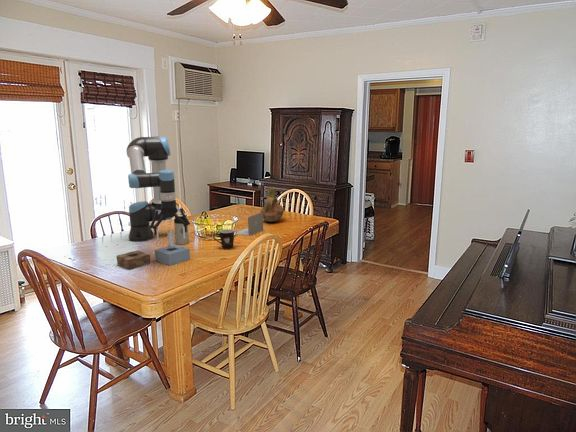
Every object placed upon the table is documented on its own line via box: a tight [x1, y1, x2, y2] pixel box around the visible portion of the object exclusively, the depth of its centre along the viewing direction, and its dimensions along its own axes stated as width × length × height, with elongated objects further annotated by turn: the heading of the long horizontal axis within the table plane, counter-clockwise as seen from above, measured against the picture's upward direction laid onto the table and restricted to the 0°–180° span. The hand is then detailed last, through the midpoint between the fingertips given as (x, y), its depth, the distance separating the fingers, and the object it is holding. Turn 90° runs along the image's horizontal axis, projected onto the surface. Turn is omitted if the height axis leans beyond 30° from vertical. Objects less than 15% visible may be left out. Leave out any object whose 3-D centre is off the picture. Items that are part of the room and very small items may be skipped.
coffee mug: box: [212, 228, 235, 250], centre depth 243 cm, size 12×9×10 cm
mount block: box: [116, 250, 151, 271], centre depth 216 cm, size 12×12×5 cm
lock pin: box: [167, 229, 176, 251], centre depth 221 cm, size 3×3×15 cm
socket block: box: [154, 243, 191, 266], centre depth 222 cm, size 13×13×6 cm
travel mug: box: [173, 212, 190, 246], centre depth 252 cm, size 8×8×18 cm
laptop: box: [235, 211, 264, 237], centre depth 278 cm, size 18×12×13 cm
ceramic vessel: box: [259, 187, 285, 223], centre depth 306 cm, size 17×26×25 cm, turn 172°
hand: (171, 239), depth 220 cm, fingers open, 13 cm apart
